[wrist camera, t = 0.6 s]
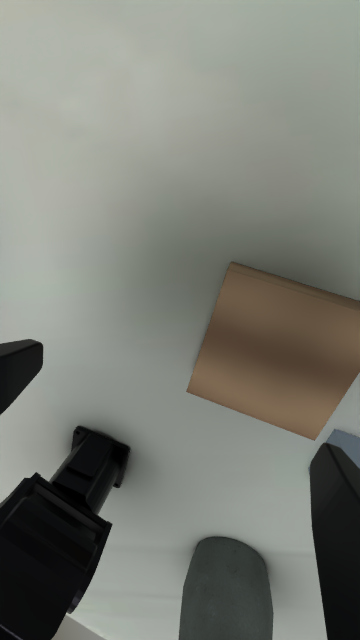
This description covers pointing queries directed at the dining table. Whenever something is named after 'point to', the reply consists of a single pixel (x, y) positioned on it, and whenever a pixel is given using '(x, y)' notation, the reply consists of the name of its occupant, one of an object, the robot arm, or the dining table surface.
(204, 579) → the grey bottle
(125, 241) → the dining table surface
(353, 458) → the cube
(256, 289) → the base
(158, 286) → the dining table surface
